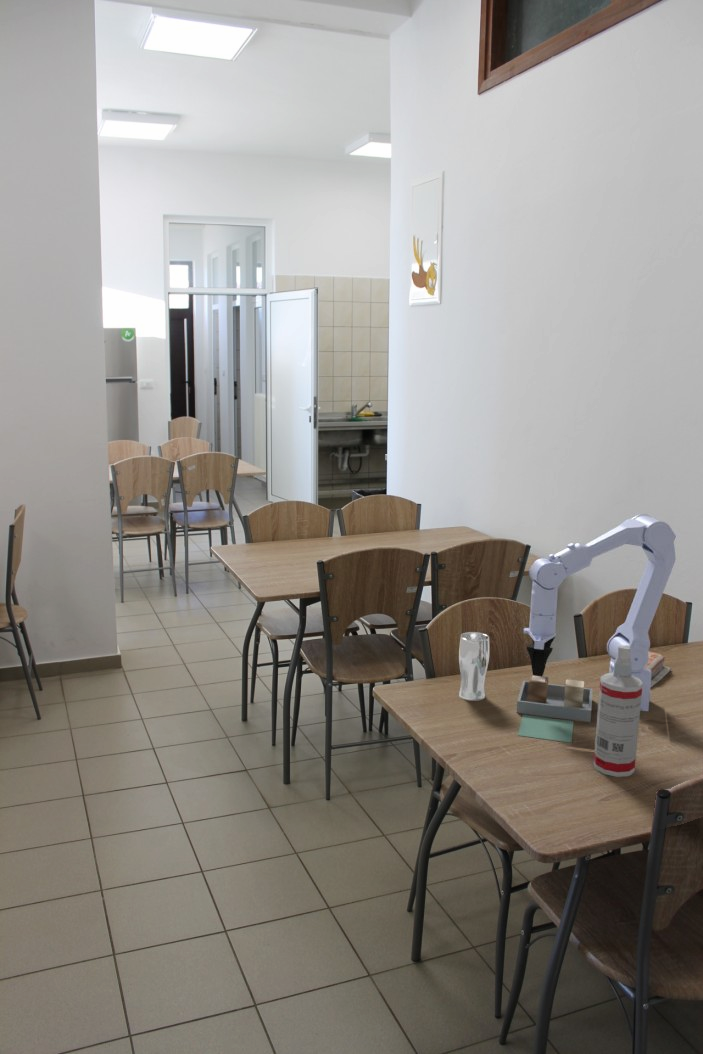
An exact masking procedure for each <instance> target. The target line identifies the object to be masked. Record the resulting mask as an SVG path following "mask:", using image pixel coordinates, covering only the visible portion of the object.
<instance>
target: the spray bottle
mask: <svg viewBox="0 0 703 1054" xmlns="http://www.w3.org/2000/svg"><path fill="white" fill-rule="evenodd" d="M630 649H631V648H630V646H628V645H623V646H619V647H618V654H617V657H616V659H615V661H614V668H613V673H609V672H607V673H605V674H603V675H601V676H600V678H599V679H600V680H599V681H600V682H599V691H598V693H599V694H598V704H597V714H596V715H597V716H596V726H595V727H596V728H595V740H594V752H593V754H594V755H593V765H594V768H595V770H597V771H598V772H600V773H601V774H602V775H603V774H604V775H606V776H612V777H617V778H619V777H629V776H631V775H632V774H633V773H635V772H636V771H635V768H636V760H637V758H636V757H637V748H638V747H637V746H638V739H639V738H638V737H639V725H640V715H641V710H640V707H641V696H642V685H643V683H642V682H641V680H640V679H639V678H637V677H634V676H632V675H631V665H632V664H631V659H630Z"/></svg>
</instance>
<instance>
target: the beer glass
mask: <svg viewBox="0 0 703 1054" xmlns="http://www.w3.org/2000/svg"><path fill="white" fill-rule="evenodd" d="M489 660H490V636H489V635H487V634H486V633H483V632H479V631H478V632H477V631H467V632H463V633H461V635H460V641H459V650H458V663H459V670H460V671H459V672H460V689H459V694H458V696H459V697H460V699H463V700H466V701H471V702H474V701H482V700H484V699H485V698H486V695H485V693H486V692H485V679H486V674H487V671H488V667H489V666H488V665H489V662H490V661H489Z"/></svg>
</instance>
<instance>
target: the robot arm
mask: <svg viewBox="0 0 703 1054" xmlns="http://www.w3.org/2000/svg"><path fill="white" fill-rule="evenodd" d="M675 540H676V534H675V532H674V530H673V529H672V528H671V526H670V524H668V523H667V522H664V521H661V520H658V519H656V518H654V517H652V516H650V515H648V514H646V513H639V514H637V515H635V516H634V517H632V518H627V519H626V520H624V521H623V522H622V523H621V524H619V525H617V526H616V527H614V528H612V529H611V530H609V531H607V532H605V533H603V534H602V535H600V536H598V537H597V538H595V539H593V540H591V541H589V542H587V543H586V544H582V543H580V542H577V543H573V542H571V543H568V544H567V546H566V547H567V548H564V549H562V550H560V551H558V552H557V553H555V554H554V553H551V554H548V558H546V557H545V558H544V557H541V558H540V557H539V558H538V559H536V560H535V561H534V562H533V564H531V566H530V568H529V569H528V575H529V577H530V578H531V580H532V583H531V584H532V585H531V595H530V609H529V610H530V613H529V623H528V624H529V626H528V627H524V628H523V634H528V635H529V636H530V638H531V640H532V643H527V644H526V650H527V653H528V655H529V658H530V663H531V670H532V671H531V672H532V675H535V676H543V677H544V673H545V669H546V665H547V662H548V659H549V657H550V656H551V654H552V652H553V649H554V648H553V647H552V646H551V645H552V643H553V642H554V640H555V638H556V634H557V632H556V625H557V624H556V621H557V608H558V607H557V606H558V596H559V595H558V589H559V587H560V585H562V583H563V581H564V579H565V578H567V577H570V576H572V575H574V574H576V573H577V572H579V571H581V570H584V569H586V568H588V567H590V566H591V563H592V561H593V559H594V558H596V557H598V556H601V555H603V554H606V553H608V552H610V551H613V550H615V549H618V548H619V547H623V546H624V545H630V546H637V547H641V548H642V550H643V551H644V554H645V555H646V557H647V558H648V560H647V563H646V566H645V568H644V571H643V574H642V577H641V579H640V581H639V584H638V586H637V590H636V592H635V595H634V597H633V601H632V602H631V605H630V608H629V611H628V612H627V613H628V614H627V616H626V619H625V621H624V622H623V623H622V624H621V625H619V626H617V628H616V630H615V633H613V635H612V636H611V637H610V638H609V639H608V641H607V643H606V651H607V653H608V654H609V656H610V661H609V670H608V671H609V672H608V673H613V668H614V661H615V659H616V657H617V654H618V647H619V646H623V645H628V646H630V648H631V649H630V659H631V664H632V665H631V675H632V676H634V677H637V678H639V679H640V680H641V682H642V683H643V685H642V696H641V707H640V712H641V711H642V712H649V708H650V707H649V706H650V702H651V698H652V696H651V670H649V669H644V668H645V666H646V665H647V663H648V660H649V654H648V651H650V647H651V641H650V639H651V638H650V635H649V630H650V628H651V625H652V623H653V620H654V618H655V615H656V612H657V610H658V607H659V604H660V601H661V599H662V596H663V594H664V591H665V589H666V586H667V583H668V581H669V578H670V576H671V573H672V571H673V568H674V565H675V563H676V558H677V557H676V550H675Z"/></svg>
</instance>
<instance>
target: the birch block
mask: <svg viewBox="0 0 703 1054" xmlns="http://www.w3.org/2000/svg"><path fill="white" fill-rule="evenodd" d="M564 686H565V696H564V706H567V707H575V708H582V704H583V691H584V688H585V681H583V680H575V679H566V680H565V685H564Z"/></svg>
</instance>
